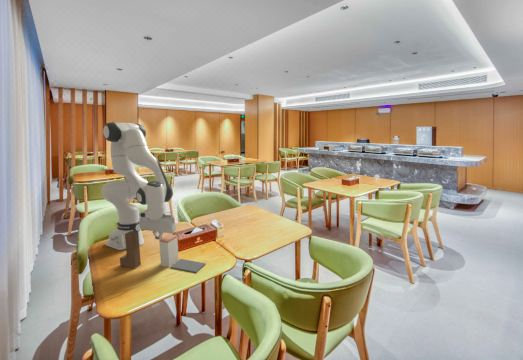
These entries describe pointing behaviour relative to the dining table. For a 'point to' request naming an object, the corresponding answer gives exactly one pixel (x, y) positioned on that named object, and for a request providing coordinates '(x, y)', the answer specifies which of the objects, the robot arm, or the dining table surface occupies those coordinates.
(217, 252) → the dining table surface
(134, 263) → the wooden block
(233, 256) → the dining table surface
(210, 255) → the dining table surface
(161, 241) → the cream block
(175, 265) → the mat
